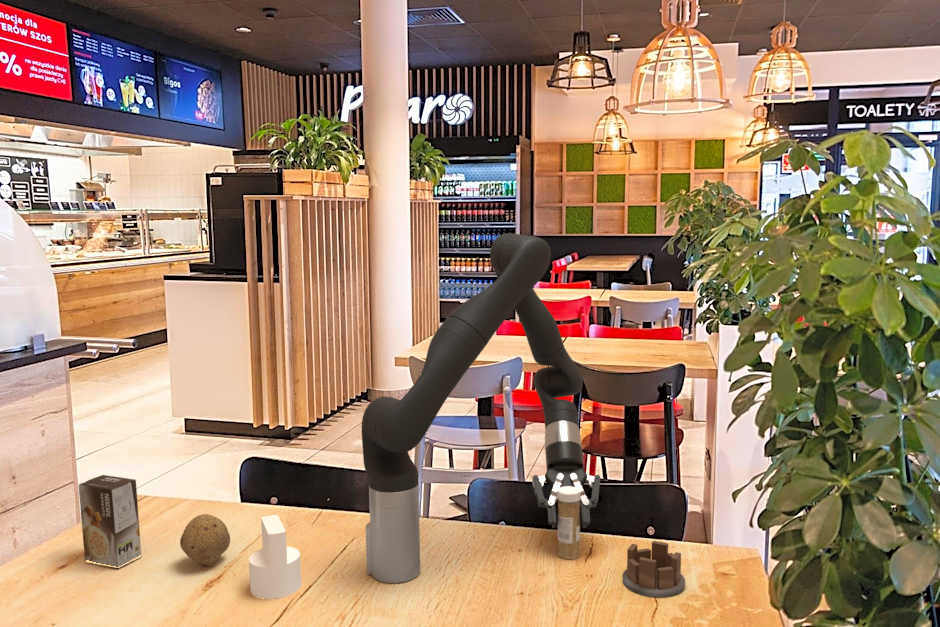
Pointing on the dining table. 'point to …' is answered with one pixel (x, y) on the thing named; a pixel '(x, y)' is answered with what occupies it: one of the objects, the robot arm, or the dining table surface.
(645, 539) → the dining table surface
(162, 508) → the dining table surface
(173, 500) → the dining table surface
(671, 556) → the castellated collar
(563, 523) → the sprinkles bottle
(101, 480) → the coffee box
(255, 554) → the base with upright slab
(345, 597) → the dining table surface
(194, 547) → the brown potato
